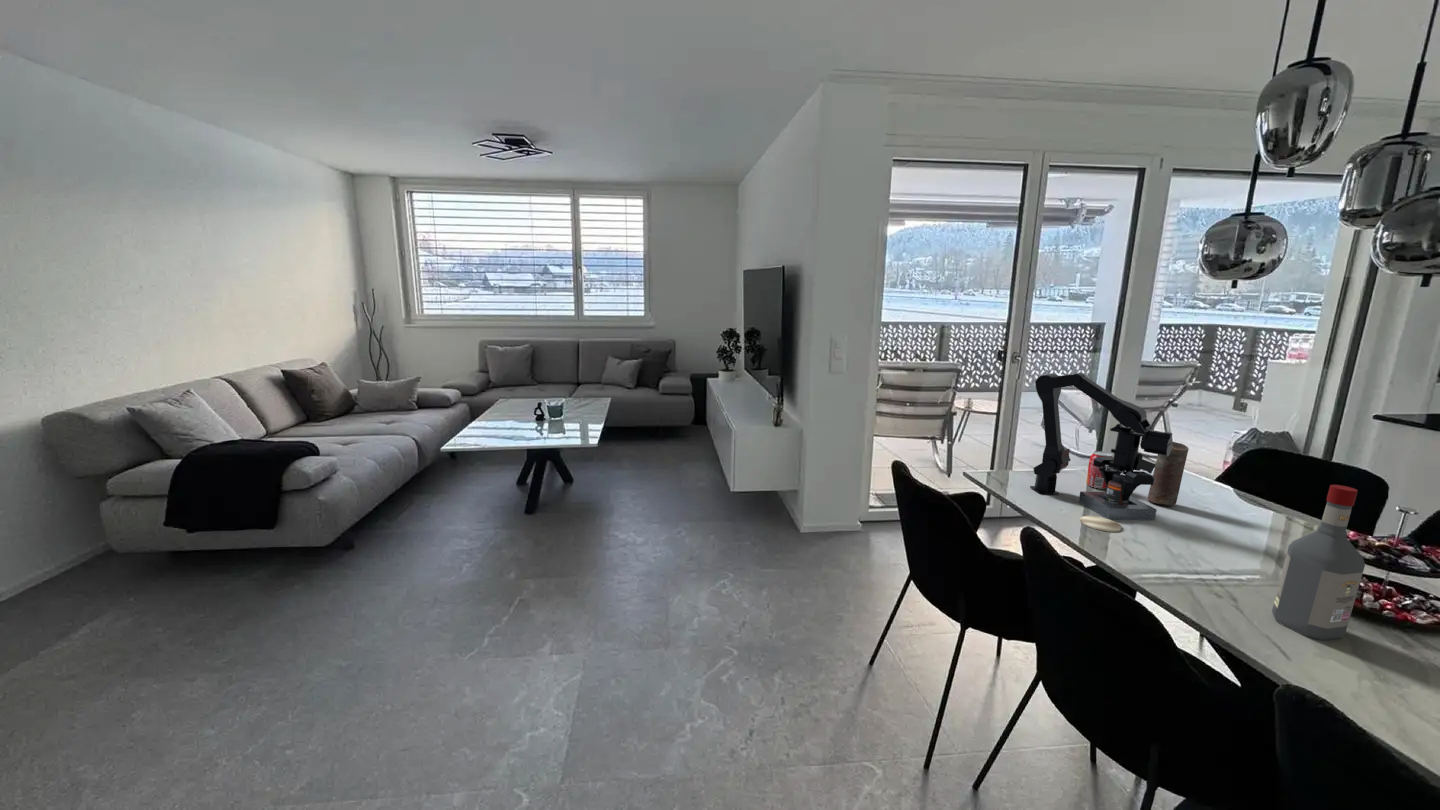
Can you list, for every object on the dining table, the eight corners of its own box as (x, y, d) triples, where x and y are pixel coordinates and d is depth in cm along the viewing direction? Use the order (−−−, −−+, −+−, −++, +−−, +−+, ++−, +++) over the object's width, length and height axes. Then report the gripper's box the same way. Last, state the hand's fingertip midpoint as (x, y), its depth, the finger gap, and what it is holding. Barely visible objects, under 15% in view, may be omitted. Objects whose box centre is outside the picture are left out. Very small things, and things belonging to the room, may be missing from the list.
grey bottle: (1350, 638, 113) (1392, 495, 107) (1316, 642, 111) (1356, 497, 105) (1296, 612, 122) (1332, 479, 116) (1263, 616, 120) (1298, 480, 114)
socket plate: (1078, 501, 183) (1080, 491, 182) (1121, 502, 183) (1123, 492, 183) (1108, 519, 169) (1110, 508, 169) (1154, 520, 170) (1156, 509, 169)
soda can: (1102, 483, 201) (1108, 451, 199) (1113, 490, 194) (1119, 457, 192) (1081, 482, 202) (1086, 450, 199) (1091, 489, 195) (1097, 455, 192)
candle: (1175, 503, 185) (1187, 443, 180) (1178, 510, 179) (1190, 448, 174) (1146, 497, 189) (1157, 439, 184) (1147, 504, 183) (1159, 444, 178)
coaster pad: (1072, 517, 170) (1073, 515, 170) (1105, 518, 170) (1106, 516, 170) (1094, 531, 160) (1094, 529, 160) (1129, 532, 161) (1130, 530, 160)
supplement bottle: (1128, 510, 177) (1135, 476, 174) (1125, 516, 172) (1131, 480, 170) (1105, 505, 181) (1111, 471, 178) (1101, 510, 176) (1108, 475, 174)
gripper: (1177, 458, 163) (1167, 509, 166) (1131, 440, 181) (1122, 486, 185) (1139, 457, 163) (1129, 508, 166) (1096, 439, 181) (1088, 486, 185)
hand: (1117, 496), depth 175 cm, fingers closed on supplement bottle, 6 cm apart
